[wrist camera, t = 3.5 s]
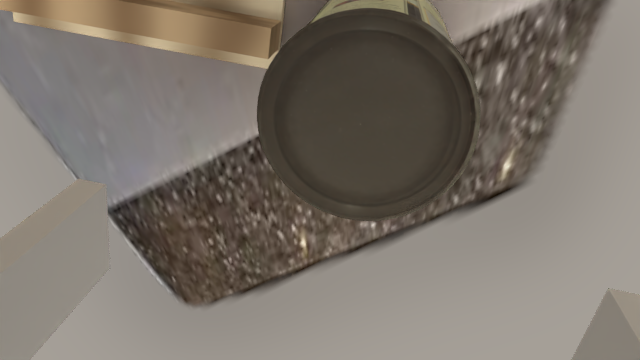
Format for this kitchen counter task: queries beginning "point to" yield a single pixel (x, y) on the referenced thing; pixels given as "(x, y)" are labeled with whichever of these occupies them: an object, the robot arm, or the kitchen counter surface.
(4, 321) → the robot arm
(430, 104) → the coffee can
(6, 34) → the kitchen counter surface
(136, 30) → the cradle
